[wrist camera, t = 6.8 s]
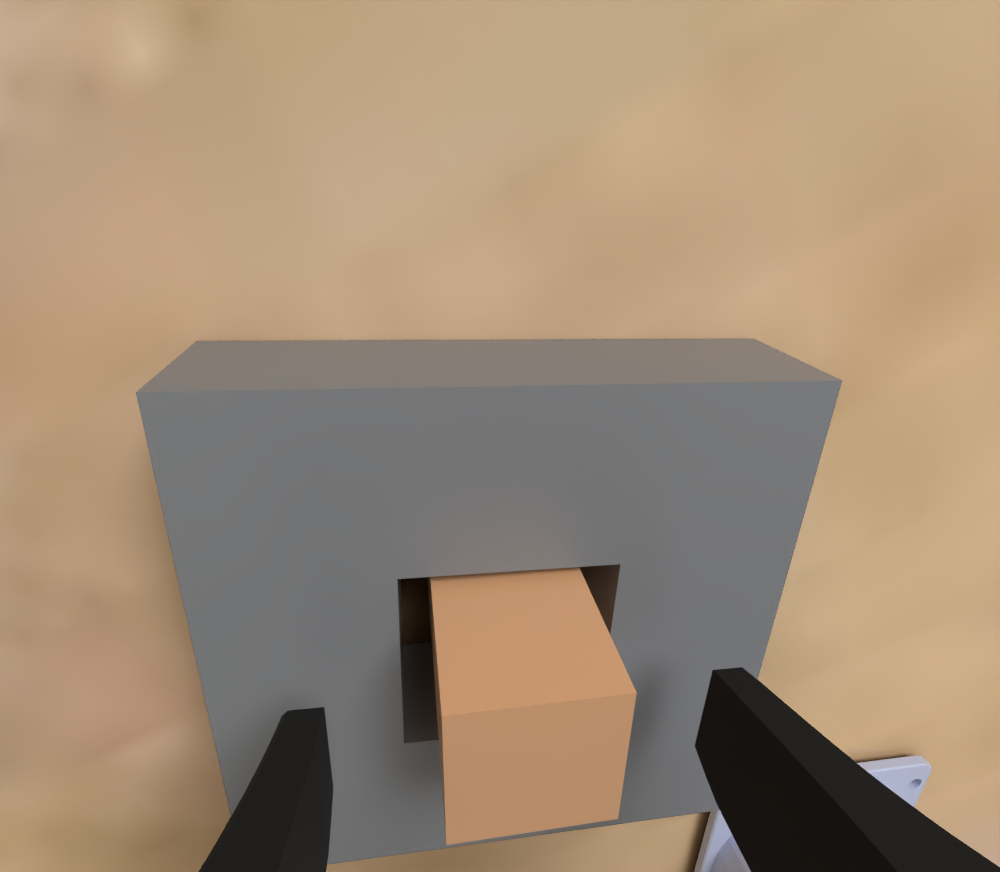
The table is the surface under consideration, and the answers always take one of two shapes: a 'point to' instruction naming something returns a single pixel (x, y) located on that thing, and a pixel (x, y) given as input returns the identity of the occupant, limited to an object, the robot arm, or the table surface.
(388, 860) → the table surface
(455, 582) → the plug peg
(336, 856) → the socket block
